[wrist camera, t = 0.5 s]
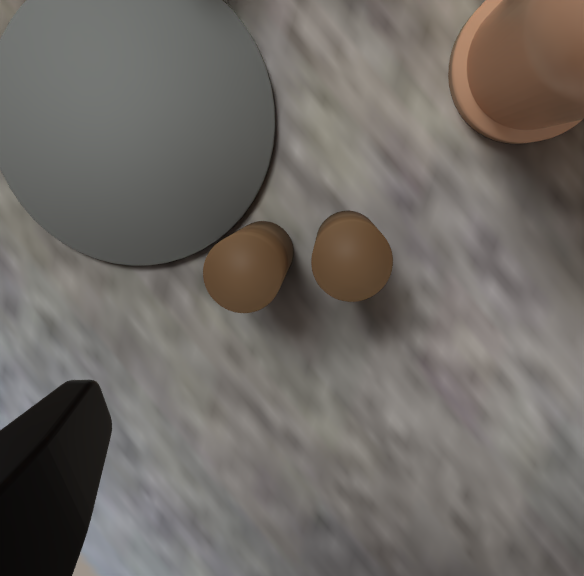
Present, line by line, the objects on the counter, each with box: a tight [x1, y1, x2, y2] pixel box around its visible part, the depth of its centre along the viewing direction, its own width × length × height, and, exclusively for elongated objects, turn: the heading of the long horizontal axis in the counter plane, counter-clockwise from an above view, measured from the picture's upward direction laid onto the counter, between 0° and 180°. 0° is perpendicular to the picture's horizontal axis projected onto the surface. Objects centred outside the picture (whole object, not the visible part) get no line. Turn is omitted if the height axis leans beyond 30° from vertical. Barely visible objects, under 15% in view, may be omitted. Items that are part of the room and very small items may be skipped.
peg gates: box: [203, 211, 393, 313], centre depth 17 cm, size 15×8×5 cm, turn 12°
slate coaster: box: [0, 0, 275, 265], centre depth 20 cm, size 11×11×1 cm
